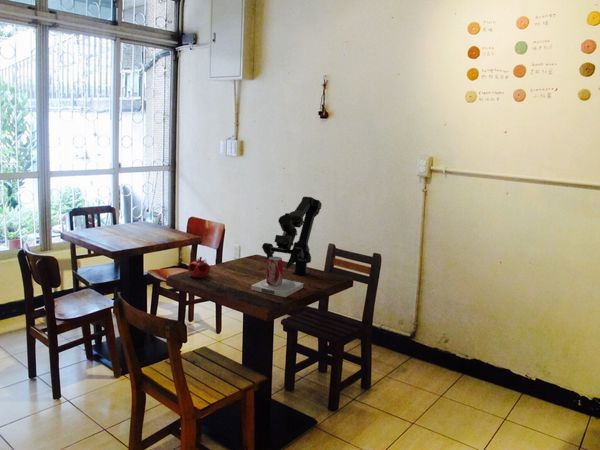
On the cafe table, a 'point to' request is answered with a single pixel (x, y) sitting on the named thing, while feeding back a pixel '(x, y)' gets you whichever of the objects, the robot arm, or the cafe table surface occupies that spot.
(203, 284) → the cafe table surface
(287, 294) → the scale
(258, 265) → the cafe table surface
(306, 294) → the cafe table surface
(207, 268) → the pomegranate
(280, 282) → the soda can
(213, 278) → the cafe table surface
